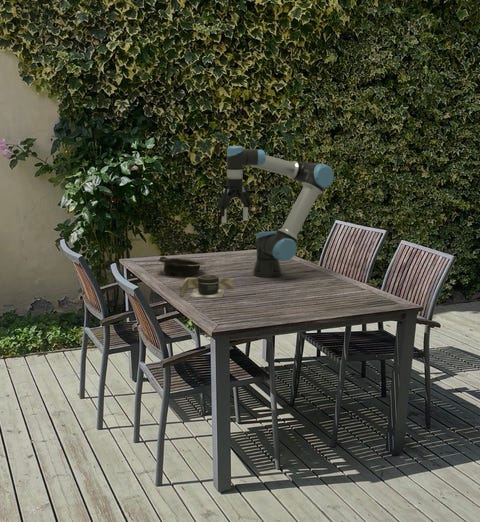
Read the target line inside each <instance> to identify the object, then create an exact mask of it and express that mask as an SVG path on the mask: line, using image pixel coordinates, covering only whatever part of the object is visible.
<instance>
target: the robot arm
mask: <svg viewBox="0 0 480 522" xmlns="http://www.w3.org/2000/svg"><path fill="white" fill-rule="evenodd" d="M226 148H227V151H226V163H227V164H226V165H227V166H226V169H227V170H226V177H227V179H226V187H227V188H222V192H221V195H220V198H219V201H218V203H217V206H216V207H217V209H218V210H220V216H221V224H227V209H226V208H227V207H228V205H229V204H230V201H232V199H234V198H239V201H240V202H241V204H242V205H243V208H242V220H243V221H245V222H246V221H247V222H248V220H249V217H248V216H249V212H250V208H251V206H253V203H252V200H251V198H250V195H249V193H248V188H247V187H246V186H245V187H244V186H243V184H244V183H243V182H244V181H243V180H244V179H243V177H244V176H243V174H244V173H243V172H244V171H243V170H244V169H243V166H248V167H252V168H255V169H260V170H263V171H267V172H272V173H275V174H279V175H283V176H286V177H288V178H289V179H291V180H294V181H297V182H300V183H301V185H302V188H301V191H300V192H299V195H298V196H297V198H296V200H295V203H294V204H293V206H292V207H291V210H290V212H289V213H288V216H287V217H286V219H285V222H284V224H283V225H282V227H281V228H279V229H277V230H273V231H260V232H257V233H256V239H255V240H256V261H255V264H254V268H253V269H252V271H253V272H252V273H253V274H252V275H253V276H255V277H259V278H277V277H281V276H282V274H283V270H282V268H281V267H282V266H281V265H280V261H282V262H287V261H289V260H292V259H293V258H294V257H295V256H296V254H297V251H298V248H297V242H298V235H299V232H300V231H301V229H302V227H303V225H304V223H305V222H306V218H307V216H308V215H309V213H310V212H311V210H312V207H313V205H314V203H315V201H316V199H317V198H318V196H319V195H322V194H323V192H324V191H325V189H326V188H329V187H330V186H332V184H333V182H334V179H335V175H334V171H333V169H332V167H330V166H329V165H328V164H325V163H317V162H316V163H315V162H302V161H297V160H293V161H288V160H285V159H283V158H278V157H274V156H270V155H267V154H266V153H265V150H263V149H249V148H243V146H242V145H229V146H227V147H226Z"/></svg>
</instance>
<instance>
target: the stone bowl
mask: <svg viewBox="0 0 480 522" xmlns="http://www.w3.org/2000/svg"><path fill="white" fill-rule="evenodd" d="M159 262H160V263H164V265H163V272H164V274H165V276H176V275H178V274H180V276H181V277H183V276H184V277H183V278H185V277H186V278H188V277H187V276H189V277H190V276H191V277H192V276H195V275H197V274H198V272H199V270H200V268H201V266H205V265H206V262H204V261H201V260H196V259H189V258H182V257H181V258H180V257H175V258H174V257H171V258H168V257H166V256H160V257H159V260H158V263H159Z"/></svg>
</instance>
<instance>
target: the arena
mask: <svg viewBox="0 0 480 522" xmlns="http://www.w3.org/2000/svg"><path fill="white" fill-rule="evenodd" d="M189 289H193V290H192V292H191V293H190V295H189V298H202V297H205V299H206V298H209V299H212V298H213V299H215V298H216V299H222V298H223V296H224V294H225V292H226V290H234V278H228V277H227V278H224V277H220V278H219V290H218V293H217V294H213V295H203V294H200V293H199V291H198V277H186V278H184V280H183V282H182V283H181V284H180V286H179V298H183V297H184V295H185V294H186V292H187V291H188V290H189ZM186 290H187V291H186ZM184 293H185V294H184ZM182 296H183V297H182Z"/></svg>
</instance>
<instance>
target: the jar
mask: <svg viewBox="0 0 480 522" xmlns="http://www.w3.org/2000/svg"><path fill="white" fill-rule="evenodd" d="M197 278H198V288H197V289H198V291H199V293H200V294H203V295H213V294H217V293H218V290H219V276H217V275H211V274H206V275H205V274H204V275H200V276H197Z"/></svg>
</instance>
